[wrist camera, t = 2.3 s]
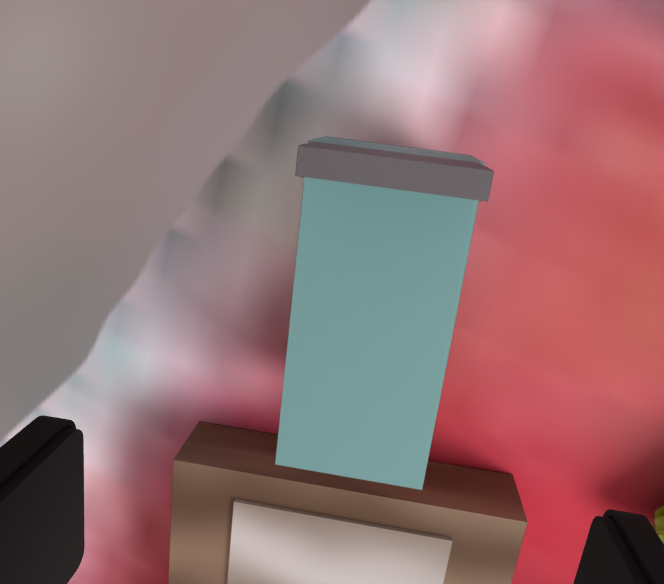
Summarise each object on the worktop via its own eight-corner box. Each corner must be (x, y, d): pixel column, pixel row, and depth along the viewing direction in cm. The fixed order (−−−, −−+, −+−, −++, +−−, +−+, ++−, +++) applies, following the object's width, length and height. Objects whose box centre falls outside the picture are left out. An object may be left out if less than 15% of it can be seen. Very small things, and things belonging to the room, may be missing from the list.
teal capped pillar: (333, 135, 25) (290, 144, 15) (463, 151, 24) (501, 172, 15) (304, 385, 28) (256, 516, 19) (417, 403, 28) (425, 547, 19)
